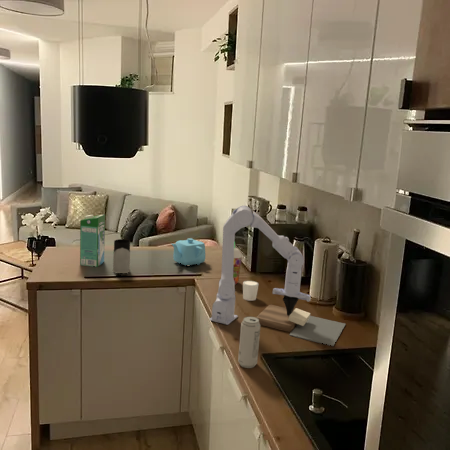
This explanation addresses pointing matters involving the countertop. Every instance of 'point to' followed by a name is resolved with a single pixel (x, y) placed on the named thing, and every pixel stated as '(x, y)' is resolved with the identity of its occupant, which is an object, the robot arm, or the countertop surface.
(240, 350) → the energy drink can
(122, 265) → the holder
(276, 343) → the countertop surface
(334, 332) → the mat
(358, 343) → the countertop surface
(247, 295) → the white cup
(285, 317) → the wooden cutting board
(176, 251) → the teapot
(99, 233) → the milk carton
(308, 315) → the cream rectangular block
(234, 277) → the smoothie
